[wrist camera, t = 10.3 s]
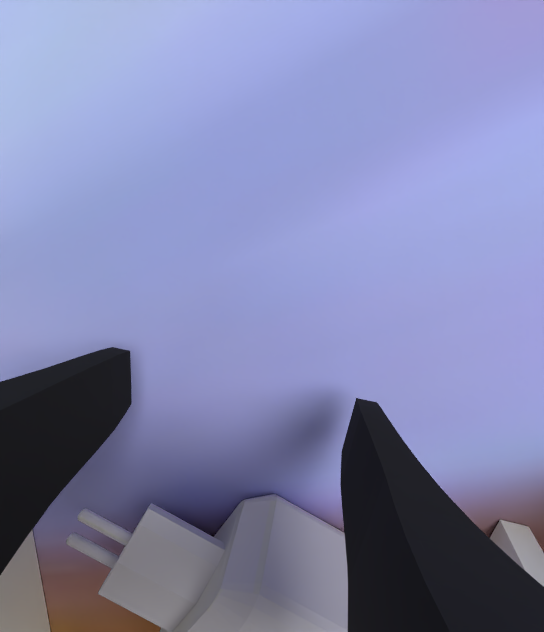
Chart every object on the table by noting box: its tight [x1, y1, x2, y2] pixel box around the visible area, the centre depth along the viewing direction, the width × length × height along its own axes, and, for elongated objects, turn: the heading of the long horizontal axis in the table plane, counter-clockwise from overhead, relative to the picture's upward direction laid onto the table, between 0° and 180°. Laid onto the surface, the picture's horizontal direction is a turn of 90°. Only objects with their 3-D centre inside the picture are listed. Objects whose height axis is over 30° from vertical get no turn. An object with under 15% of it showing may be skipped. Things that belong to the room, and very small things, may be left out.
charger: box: [66, 494, 348, 632], centre depth 14 cm, size 5×9×15 cm
